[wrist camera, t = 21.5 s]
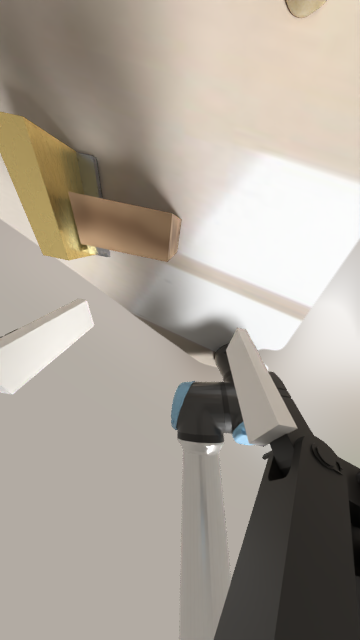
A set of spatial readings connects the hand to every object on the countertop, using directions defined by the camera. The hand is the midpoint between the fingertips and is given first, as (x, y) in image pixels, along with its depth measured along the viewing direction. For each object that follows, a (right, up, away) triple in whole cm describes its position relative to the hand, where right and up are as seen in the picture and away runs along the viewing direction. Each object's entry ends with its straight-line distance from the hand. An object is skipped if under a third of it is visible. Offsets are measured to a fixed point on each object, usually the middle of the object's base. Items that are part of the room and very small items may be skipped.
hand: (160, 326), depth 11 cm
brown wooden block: (-5, +20, +16) cm, 26 cm away
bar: (-20, +24, +15) cm, 34 cm away
